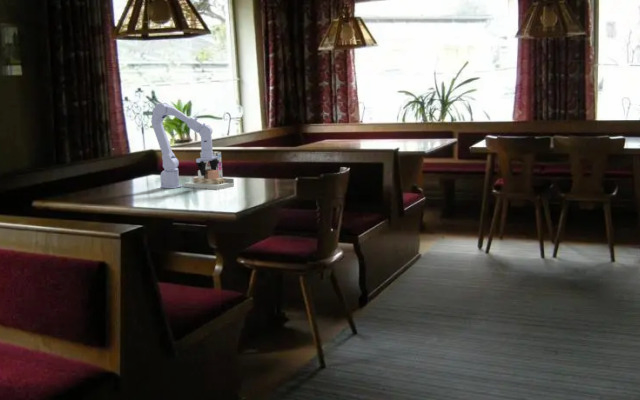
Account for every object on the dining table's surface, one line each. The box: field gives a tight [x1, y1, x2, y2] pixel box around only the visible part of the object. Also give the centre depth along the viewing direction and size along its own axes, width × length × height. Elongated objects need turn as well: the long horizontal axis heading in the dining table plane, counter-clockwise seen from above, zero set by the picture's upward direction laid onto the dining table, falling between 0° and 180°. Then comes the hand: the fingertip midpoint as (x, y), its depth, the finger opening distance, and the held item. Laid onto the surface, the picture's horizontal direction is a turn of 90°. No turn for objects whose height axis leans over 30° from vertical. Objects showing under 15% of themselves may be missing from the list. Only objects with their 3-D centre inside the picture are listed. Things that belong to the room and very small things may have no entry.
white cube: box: [197, 170, 204, 178], centre depth 363 cm, size 4×4×4 cm
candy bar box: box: [199, 151, 224, 178], centre depth 381 cm, size 11×5×16 cm, turn 68°
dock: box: [184, 177, 235, 190], centre depth 362 cm, size 24×12×4 cm, turn 55°
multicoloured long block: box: [192, 169, 226, 184], centre depth 361 cm, size 18×5×7 cm, turn 55°
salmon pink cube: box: [208, 170, 219, 179], centre depth 359 cm, size 4×4×4 cm
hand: (208, 174), depth 361 cm, fingers open, 7 cm apart
